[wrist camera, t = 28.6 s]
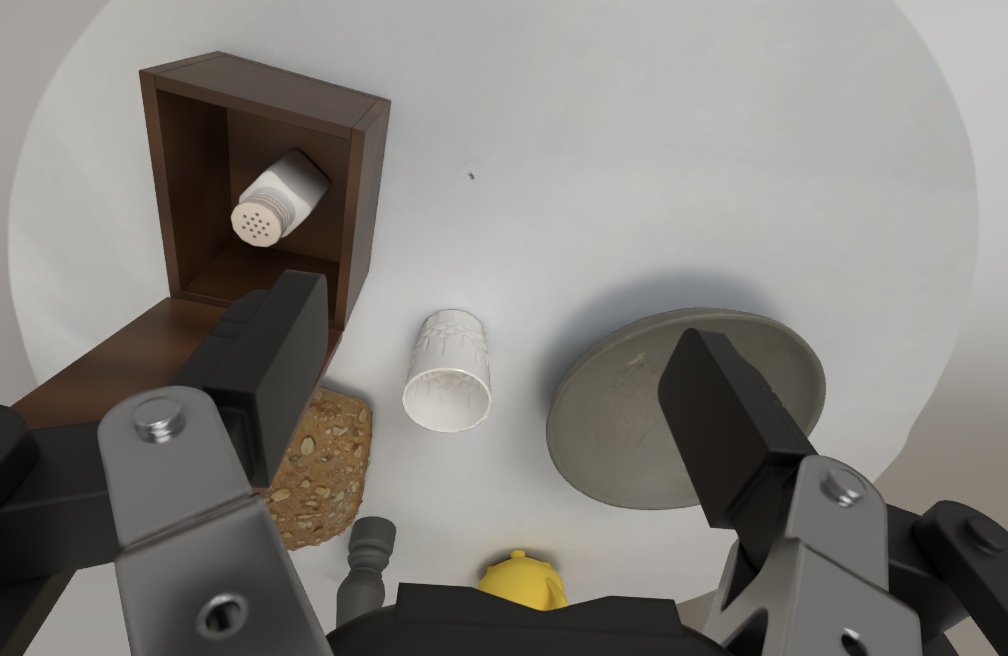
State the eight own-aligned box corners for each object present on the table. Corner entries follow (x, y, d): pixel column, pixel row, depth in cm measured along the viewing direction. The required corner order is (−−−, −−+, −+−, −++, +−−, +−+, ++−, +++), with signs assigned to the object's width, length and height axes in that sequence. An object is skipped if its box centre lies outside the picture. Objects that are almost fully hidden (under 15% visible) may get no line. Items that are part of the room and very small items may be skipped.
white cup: (444, 374, 54) (437, 444, 45) (400, 326, 50) (383, 393, 41) (504, 344, 51) (508, 411, 43) (462, 290, 47) (458, 354, 39)
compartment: (217, 50, 35) (137, 69, 27) (391, 100, 37) (365, 131, 29) (228, 240, 44) (170, 298, 36) (368, 271, 46) (343, 332, 38)
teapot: (482, 593, 83) (481, 673, 73) (472, 548, 74) (470, 632, 65) (562, 587, 82) (572, 667, 73) (561, 542, 74) (573, 625, 64)
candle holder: (400, 538, 72) (366, 755, 52) (360, 542, 72) (310, 759, 52) (390, 514, 69) (349, 737, 48) (348, 518, 69) (289, 742, 49)
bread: (360, 505, 67) (339, 593, 57) (196, 478, 63) (143, 569, 53) (394, 381, 54) (373, 468, 44) (188, 336, 50) (115, 422, 40)
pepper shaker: (335, 182, 40) (299, 230, 32) (304, 211, 41) (262, 263, 34) (296, 143, 38) (248, 183, 30) (265, 175, 39) (211, 221, 32)
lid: (-47, 445, 20) (-21, 536, 23) (265, 486, 23) (259, 566, 25) (166, 296, 35) (169, 361, 37) (343, 331, 37) (334, 389, 40)
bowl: (597, 481, 66) (610, 538, 59) (495, 341, 51) (497, 395, 44) (804, 407, 58) (845, 462, 52) (754, 219, 44) (802, 262, 37)
